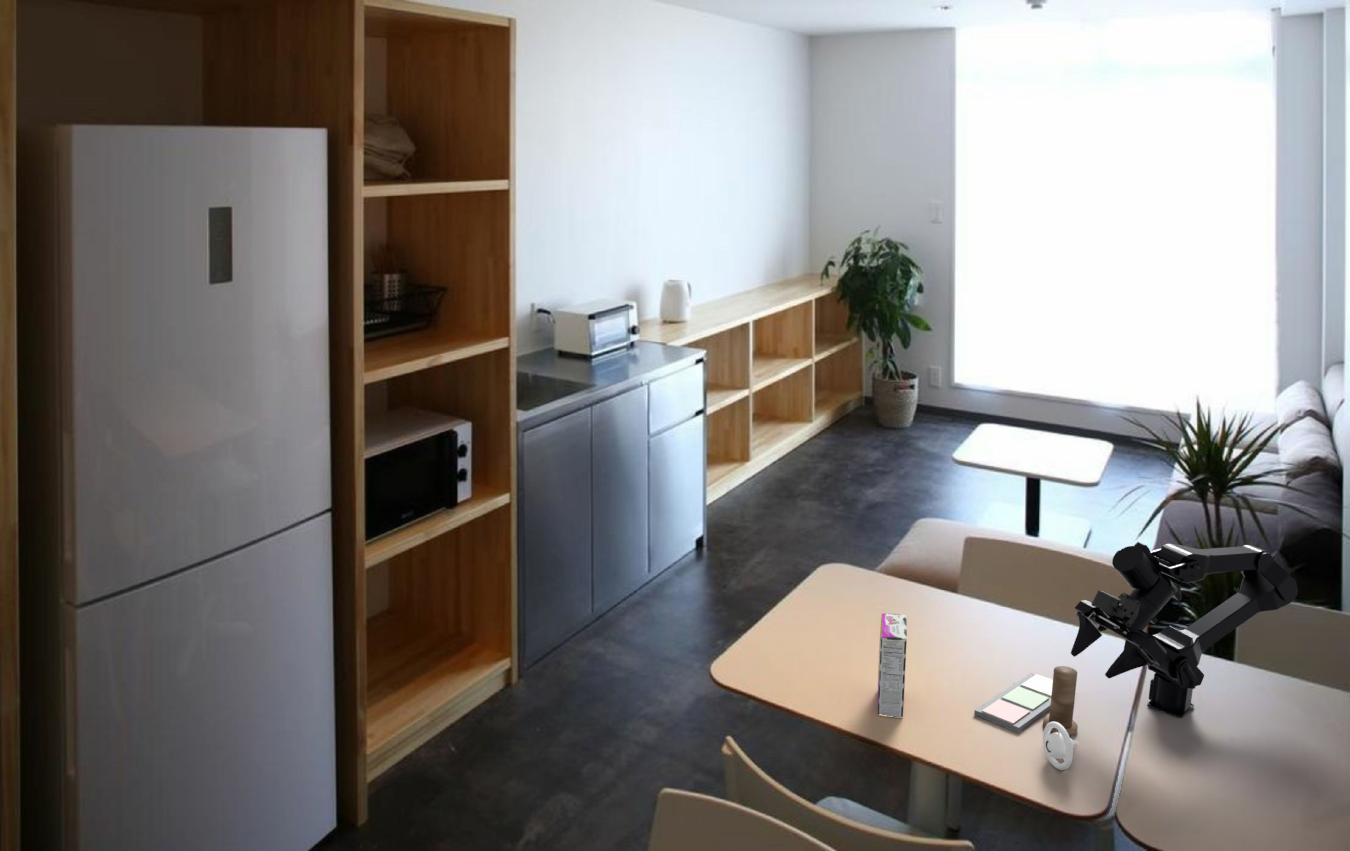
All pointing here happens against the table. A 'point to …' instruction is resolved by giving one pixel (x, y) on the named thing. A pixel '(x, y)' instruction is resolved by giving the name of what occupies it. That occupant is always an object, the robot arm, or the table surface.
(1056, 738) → the ring around a ball
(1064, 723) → the brown wooden peg
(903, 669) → the candy bar box
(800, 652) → the table surface
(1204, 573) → the robot arm
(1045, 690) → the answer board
